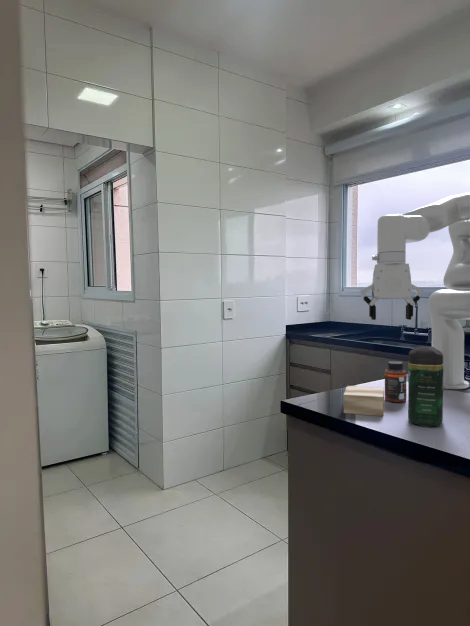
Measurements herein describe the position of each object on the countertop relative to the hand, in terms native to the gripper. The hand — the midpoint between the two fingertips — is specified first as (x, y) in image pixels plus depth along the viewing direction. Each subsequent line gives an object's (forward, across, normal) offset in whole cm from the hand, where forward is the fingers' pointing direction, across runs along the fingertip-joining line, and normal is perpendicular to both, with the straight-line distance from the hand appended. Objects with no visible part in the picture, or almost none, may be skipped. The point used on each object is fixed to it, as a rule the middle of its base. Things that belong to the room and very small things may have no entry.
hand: (390, 319), depth 120 cm
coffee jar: (+24, +4, -17) cm, 30 cm away
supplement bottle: (+24, +2, +2) cm, 24 cm away
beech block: (+24, -8, -7) cm, 27 cm away
